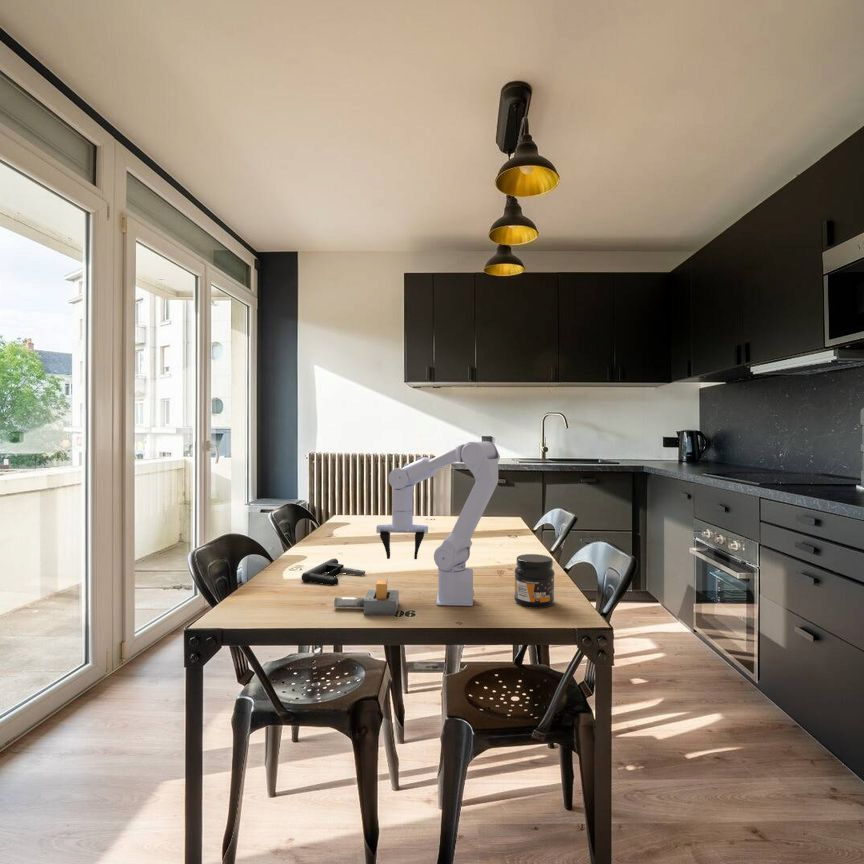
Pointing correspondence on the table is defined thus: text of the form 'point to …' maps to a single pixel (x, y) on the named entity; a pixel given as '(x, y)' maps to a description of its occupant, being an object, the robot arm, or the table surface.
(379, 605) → the grey peg hole fixture
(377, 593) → the tall orange cuboid
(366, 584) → the table surface
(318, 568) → the door handle
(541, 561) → the supplement container
